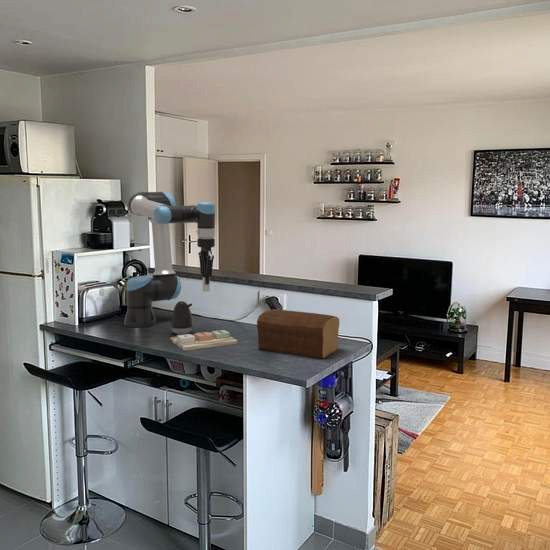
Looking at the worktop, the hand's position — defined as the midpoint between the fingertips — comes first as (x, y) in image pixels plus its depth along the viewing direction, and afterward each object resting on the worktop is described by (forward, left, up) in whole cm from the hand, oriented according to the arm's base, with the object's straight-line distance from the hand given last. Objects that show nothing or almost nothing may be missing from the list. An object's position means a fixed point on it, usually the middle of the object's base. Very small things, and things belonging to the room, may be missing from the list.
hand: (206, 291), depth 254 cm
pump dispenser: (-13, -7, -22) cm, 26 cm away
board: (+6, -4, -21) cm, 22 cm away
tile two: (+6, -4, -20) cm, 22 cm away
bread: (+35, +27, -22) cm, 49 cm away
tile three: (+6, +4, -20) cm, 22 cm away
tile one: (+6, -12, -20) cm, 24 cm away
